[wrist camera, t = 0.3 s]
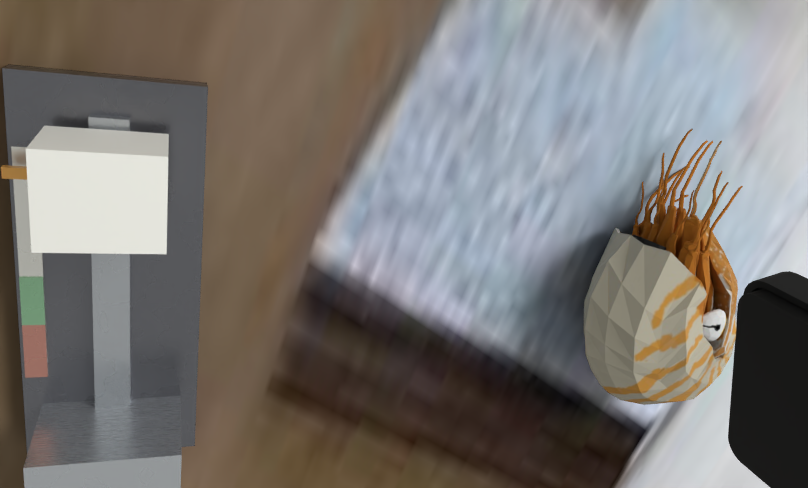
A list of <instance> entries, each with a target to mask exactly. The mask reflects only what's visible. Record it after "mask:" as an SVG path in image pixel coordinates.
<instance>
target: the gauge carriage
mask: <svg viewBox="0 0 808 488" xmlns="http://www.w3.org/2000/svg"><path fill="white" fill-rule="evenodd" d="M168 149H169V134H162V133H148V132H133V131H118V130H103V129H88V128H74V127H59V126H44V127H43V128H42V129H41V130H40V132H39V133H38V134H37V135H36V137H35V138H34V139H33V140H32V141H31V143H30V144H29V145H28V146H27V148H26V165H27V166H11V165H2V166H1V176H2V179H23V180H27V183H28V201H29V219H30V237H31V253H97V254H167V205H168Z"/></svg>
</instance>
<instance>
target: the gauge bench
mask: <svg viewBox="0 0 808 488" xmlns="http://www.w3.org/2000/svg"><path fill="white" fill-rule="evenodd" d="M2 72H3V88H4V103H5V119H6V134H7V150H8V165H11V166H27V165H26V148H27V146H28V145H29V144H30V143H31V141H32V140H33V139H34V138H35V137H36V135H37V134H38V133H39V132H40V130H41V129H42V128H43V127H44V126H59V127H74V128H88V129H103V130H118V131H133V132H148V133H162V134H169V149H168V205H167V254H97V253H31V237H30V219H29V201H28V183H27V180H23V179H9V181H10V196H11V212H12V227H13V243H14V258H15V274H16V289H17V305H18V320H19V336H20V351H21V367H22V382H23V397H24V413H25V428H26V444H27V457H26V461H25V464H24V467H23V472H24V487H25V488H181V447H186V446H195V421H196V394H197V367H198V339H199V312H200V285H201V258H202V231H203V204H204V177H205V150H206V123H207V95H208V86H207V83H202V82H191V81H181V80H170V79H159V78H148V77H138V76H127V75H116V74H105V73H95V72H84V71H73V70H63V69H52V68H41V67H30V66H20V65H7V66H5V67H3V68H2Z"/></svg>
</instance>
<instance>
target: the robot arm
mask: <svg viewBox="0 0 808 488" xmlns="http://www.w3.org/2000/svg"><path fill="white" fill-rule="evenodd" d="M728 439H729V444H730V447H731V449H732V451H733V453H734V455H735V456H736V457H737V459H738V460H739V461H740V462H741V463H742V464H744V465H745V466H746V467H747V468H748V469H749V470H751V471H752V472H753V473H754V474H755V475H756V476H758V477H759V478H760V479H761V480H762V481H763V482H765V483H766V484H767V485H768V486H769V487H770V488H808V279H807V278H805V277H803V276H801V275H799V274H796V273H793V272H790V271H789V272H781V273H778V274H775V275H771V276H768V277H765V278H762V279H759V280H756V281H753V282H751V283H749V284H748V285H747V287H746V288H745V291H744V295H743V296H742V297H741V298H740V300H739V303H738V312H737V326H736V339H735V352H734V366H733V379H732V392H731V406H730V419H729V432H728Z"/></svg>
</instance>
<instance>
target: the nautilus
mask: <svg viewBox="0 0 808 488" xmlns="http://www.w3.org/2000/svg"><path fill="white" fill-rule="evenodd" d="M691 131H692V129H691V130H689V131H688V132H687V134H686V135H685V136H684V138H683V139H682V141H681V142H680V144H679V145H678V147H677V149H676V151H675V153H674V156H673V158H672V160H671V163H670V165H669V167H668V170H667V172H666V175H665V180H664V183H663V180H662V179H663V175H664V154H665V153H663V156H662V172H661V177H660V182H659V188H658V189H657V190H656V191H655V192H654V193H653V194H652V195H651V197H650V199H649V200H648V202H647V205H646V208H645V217H644V221H643V222H642V223H641V224H639V225H638V220H637V219H638V216H639V214H640V212H641V210H642V207H643V198H644V188H643V182H642V201H641V208H640V212H639V213H638V214H637V215H636V219H635V225H634V226H633V232H632V235H629V234H623V233H621V231H620V230H619V229H618V228H616V227H615V229H614V231H613V234H612V236H611V238H610V240H609V242H608V244H607V247H606V249H605V251H604V253H603V255H602V257H601V260H600V262H599V264H598V266H597V268H596V271H595V273H594V275H593V277H592V280H591V285H590V287H589V290H588V293H587V295H586V298H585V301H584V336H585V353H586V357H587V360H588V363H589V365H590V368H591V370H592V372H593V374H594V375H595V377H596V379H597V380H598V382H599V384H600V385H601V386H602V387H603V388H604V389H605V390H606V391H607V392H608V393H610V394H612V395H613V396H615V397H617V398H618V399H620V400H624V401H629V402H634V403H639V404H644V405H645V404H657V403H667V402H677V401H685V400H690V399H694V398H695V397H696V396H698V395H699V394H700V393H701V392H702V391H704V390H705V389H706V388H707V387H708V386H709V385H710V384H711V383H712V382H713V381H714V380H715V379H716V378H717V377H718V376H719V375H720V374H721V372H722V371H723V369H724V367H725V365H726V364H727V362H728V360H729V358H730V356H731V355H732V350H733V346H734V343H735V339H736V326H737V323H736V319H735V309H736V300H737V291H738V287H737V280H736V277H735V275H734V273H733V270H732V268H731V266H730V264H729V261H728V259H727V257H726V255H725V253H724V251H723V249H722V248H721V246H720V244H719V242H718V241H717V239H716V237H715V236H714V234H713V232H712V231H713V229H714V227H715V225H716V224H717V222H718V221H719V219H720V218H721V217H722V215H723V214H724V213H725V211H726V210H727V208H728V207H729V205H730V204H731V202H732V201H733V199H734V198H735V196H736V195H737V193H738V192H739V191H740V189H741V188H742V187H743V186H741V187H739V188H738V190H737V191H736V192H735V194H734V195H733V196H732V198H731V199H730V201H729V203H728V204H727V205H726V207H725V208H724V209H723V211H722V212H721V214H720V215H719V216H718V218H717V219H716V220H715V222H714V223H713V225H712V227H711V228H710V227H709V224H710V217H711V215H712V213H713V211H714V209H715V207H716V205H717V202H718V200H719V198H720V197H721V195H722V193H723V191H724V189H725V187H726V186H727V184H728V183H729V182H727V183H726V184H725V186H724V187H723V189H722V191H721V192H720V194H719V196H718V197H717V199H716V188H717V185H718V182H719V179H720V176H721V174H722V171H721V173H720V174H719V175H718V177H717V180H716V183H715V186H714V188H713V200H712V204H711V205H710V207H709V209H708V211H707V213H706V214H705V216H704V218H703V219H702V220H699V219H698V217H697V216H696V215H695V212H696V208H697V203H696V196H697V193H698V191H699V189H700V186H701V184H702V182H703V180H704V178H705V176H706V173H707V171H708V169H709V167H710V164H711V162H712V159H713V158H714V156H715V154H716V152H717V149H718V147H719V145H720V144H721V142H722V141H720V142H719V144H718V145H717V147H716V149H715V151H714V153H713V154H712V156H711V158H710V160H709V163H708V165H707V168H706V170H705V172H704V174H703V176H702V178H701V180H700V182H699V184H698V186H697V188H696V190H695V193H694V196H693V192H694V190H693V192H692V194H691V198H690V202H689V210H688V212H687V214H686V210H685V209H684V208H683V203H684V197H687V196H688V195H684V191H685V190H686V188H687V186H688V184H689V182H690V180H691V178H692V176H693V174H694V172H695V169H696V167H697V165H698V163H699V161H700V160H701V158H702V157H703V155H704V154H705V152H706V151H707V149H708V148H709V146H710V145H711V144H712V143H713V141H712V142H710V143H709V144H708V145H707V147H706V148H705V150H704V151H703V152H702V154H701V155H700V157H699V158H698V159H697V161H696V163H695V165H694V167H693V169H692V171H691V173H690V175H689V177H688V179H687V181H686V183H685V185H684V187H683V189H682V191H681V194H680V198H679V199H677V200H675V194H676V189H677V187H678V185H679V184H680V182H681V180H682V179H683V177H684V175H685V173H686V171H687V170H688V168H689V166H690V164H691V162H692V161H693V159H694V158H695V156H696V155H697V154H698V152H699V151H700V150H701V148H702V147H703V146H704V145H705V144H706V143H707V142H708V141H705V142H704V143H703V144H702V145H701V146H700V147H699V149H698V150H697V151H696V152H695V153H694V155H693V156H692V157H691V159H690V160H689V162H688V164H687V166H685V167H684V168H683V169H682V170H680V171H678V172H676V173H675V174H673V175H672V176H671V177H670V178H669V179H668V175H669V173H670V170H671V168H672V166H673V163H674V161H675V158H676V156H677V154H678V151H679V149H680V147H681V145H682V144H683V142H684V140H685V139H686V137H687V135H688V134H689V133H690V132H691ZM683 170H684V171H683ZM682 172H683V173H682ZM681 173H682V174H681ZM677 174H678V175H677ZM676 175H677V177H676V178H675V180H674V181H673V183H672V185H671V187H670V188H669V190H668V193H667V195H666V192H667V188H666V187H667V183H668V182H669V181H670V180H671V179H672V178H673V177H675V176H676ZM680 175H681V176H680ZM679 176H680V178H679ZM678 178H679V180H678V181H677V179H678ZM676 181H677V183H676V185H675V186H674V184H675V182H676ZM661 184H662V185H661ZM673 186H674V188H673ZM672 188H673V190H672ZM661 189H662V191H661V193H660V190H661ZM671 190H672V195H671V200H670V205H669V206H668V209H667V214H666V210H665V203H666V201H667V199H668V197H669V194H670V192H671ZM662 193H663V194H662ZM656 194H657V198H656V201H655V203H654V204H653V206H652V207H651V208H650V209H648V208H649V205H650V203H651V201H652V199H653V198H654V197H655V195H656ZM661 195H662V196H661ZM665 195H666V197H665ZM692 196H693V208H692V211H691V214H690V217H687V216H688V214H689V211H690V209H691V201H692ZM664 197H665V199H664ZM715 200H716V202H715ZM676 201H679V208H676V207H675V206H674V202H676ZM656 204H657V213H656V215H655V217H654V224H652V223H650V221H651V213H652V210H653V208H654V207H655V205H656ZM676 212H677V214H676ZM705 220H706V221H705ZM707 222H708V223H707Z"/></svg>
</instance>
